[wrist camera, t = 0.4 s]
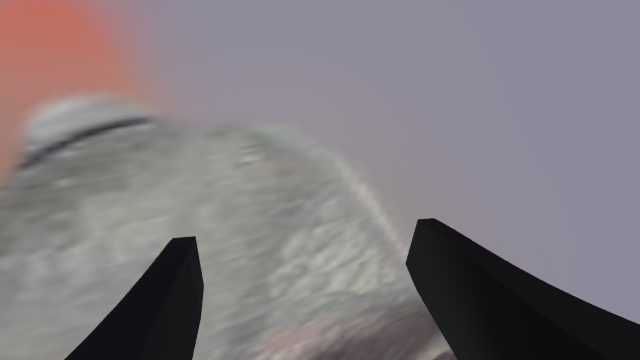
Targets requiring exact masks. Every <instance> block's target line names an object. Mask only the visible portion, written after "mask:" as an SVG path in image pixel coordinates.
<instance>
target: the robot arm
mask: <svg viewBox="0 0 640 360" xmlns="http://www.w3.org/2000/svg"><path fill="white" fill-rule="evenodd" d="M406 266H407V268H408V271H409V273H410V276H411V278H412V280H413V283H414V285H415V287H416V289H417V291H418V293H419V295H420V297H421V298H422V300H423V302H424V304H425V305H426V307H427V309H428V310H429V312H430V314H431V315H432V317H433V319H434V320H435V322H436V324H437V326H438V327H439V329H440V331H441V332H442V334H443V336H444V337H445V339H446V341H447V342H448V344H449V346H450V347H451V349H452V351H453V352H454V354H455V356H456V358H457V360H640V325H639V324H637V323H635V322H632V321H630V320H627V319H625V318H622V317H620V316H618V315H615V314H613V313H611V312H608V311H606V310H604V309H601V308H599V307H596V306H594V305H592V304H590V303H588V302H585V301H583V300H581V299H579V298H577V297H575V296H572V295H571V294H569V293H566V292H564V291H562V290H560V289H558V288H556V287H554V286H552V285H550V284H548V283H546V282H544V281H542V280H540V279H538V278H536V277H535V276H533V275H531V274H529V273H527V272H526V271H524V270H522V269H520V268H518V267H516V266H515V265H512V264H511V263H509V262H508V261H505V260H504V259H502V258H501V257H499V256H497V255H496V254H494V253H492V252H490V251H489V250H487V249H485V248H484V247H482V246H481V245H479V244H477V243H475V242H474V241H472V240H471V239H469V238H467V237H466V236H464V235H462V234H461V233H459V232H457V231H456V230H454V229H452V228H451V227H449V226H447V225H446V224H444V223H442V222H440V221H438V220H436V219H434V218H431V219H418V221H417V225H416V228H415V232H414V235H413V239H412V242H411V246H410V249H409V253H408V256H407V260H406ZM203 290H204V283H203V278H202V272H201V266H200V260H199V254H198V248H197V243H196V237H195V236H194V237H181V238H173V239H172V240H171V241H170V242H169V243H168V244H167V245H166V247H165V248H164V249H163V250H162V252H161V253H160V254H159V256H158V257H157V258H156V259H155V261H154V262H153V263H152V264H151V266H150V267H149V268H148V269H147V270H146V272H145V273H144V274H143V275H142V277H141V278H140V279H139V280H138V281H137V282H136V284H135V285H134V286H133V287H132V288H131V289H130V291H129V292H128V293H127V294H126V295H125V296H124V298H123V299H122V300H121V301H120V302H119V303H118V304H117V306H116V307H115V308H114V309H113V310H112V311H111V312H110V313H109V314H108V315H107V316H106V317H105V318H104V319H103V321H102V322H101V323H100V324H99V325H98V326H97V327H96V328H95V329H94V330H93V331H92V332H91V333H90V334H89V335H88V336H87V338H86V339H85V340H84V341H83V342H82V343H81V344H80V345H79V346H78V347H77V348H76V349H75V350H74V351H73V352H72V353H71V354H69V355H68V356H67V357H66V358H65V359H64V360H192V357H193V353H194V348H195V343H196V339H197V334H198V329H199V324H200V320H201V311H202V301H203Z"/></svg>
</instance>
